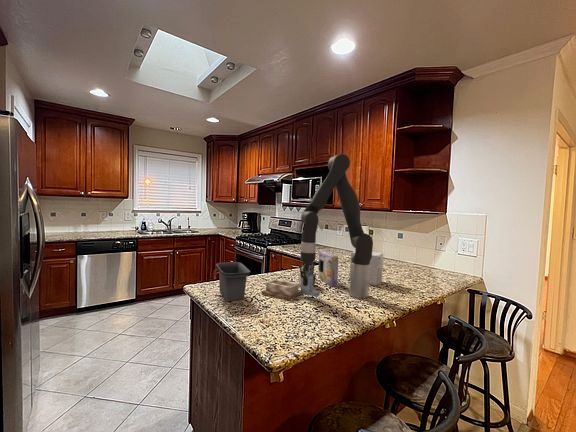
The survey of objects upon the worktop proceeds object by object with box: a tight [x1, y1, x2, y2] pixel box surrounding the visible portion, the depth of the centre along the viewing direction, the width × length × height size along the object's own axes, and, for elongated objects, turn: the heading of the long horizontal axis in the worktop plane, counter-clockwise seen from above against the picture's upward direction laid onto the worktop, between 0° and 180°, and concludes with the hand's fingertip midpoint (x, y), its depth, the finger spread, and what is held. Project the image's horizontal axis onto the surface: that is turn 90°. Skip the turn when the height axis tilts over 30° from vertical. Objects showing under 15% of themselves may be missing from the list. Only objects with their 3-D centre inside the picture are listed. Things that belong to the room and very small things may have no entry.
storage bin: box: [213, 261, 251, 302], centre depth 145 cm, size 21×16×14 cm
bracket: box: [300, 274, 321, 298], centre depth 148 cm, size 9×4×10 cm, turn 62°
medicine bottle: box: [298, 272, 317, 287], centre depth 170 cm, size 7×7×12 cm
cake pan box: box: [317, 250, 339, 287], centre depth 179 cm, size 19×5×18 cm, turn 17°
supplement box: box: [349, 250, 384, 286], centre depth 185 cm, size 17×13×18 cm
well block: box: [261, 278, 302, 302], centre depth 152 cm, size 16×14×6 cm
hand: (306, 284), depth 149 cm, fingers closed on bracket, 3 cm apart
